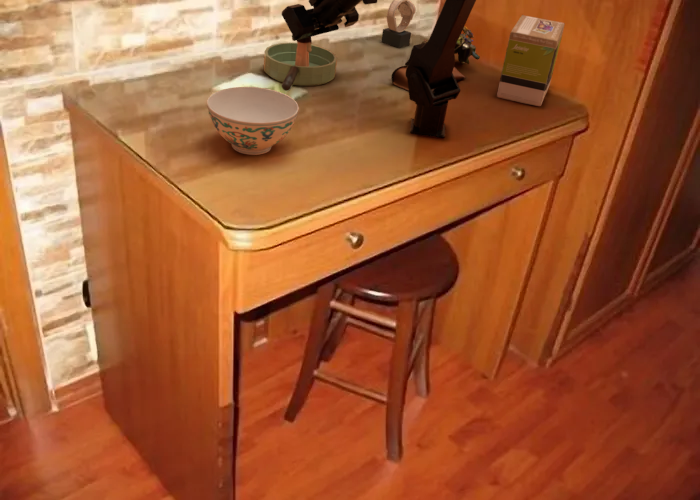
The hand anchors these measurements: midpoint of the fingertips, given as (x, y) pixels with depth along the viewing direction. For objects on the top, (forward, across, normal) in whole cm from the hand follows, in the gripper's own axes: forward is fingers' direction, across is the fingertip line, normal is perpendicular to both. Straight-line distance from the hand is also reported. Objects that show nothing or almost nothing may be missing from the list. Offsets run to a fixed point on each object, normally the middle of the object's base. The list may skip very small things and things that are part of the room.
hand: (298, 37), depth 153 cm
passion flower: (-7, -34, +18) cm, 39 cm away
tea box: (-21, -34, +32) cm, 51 cm away
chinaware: (-8, +33, +20) cm, 39 cm away
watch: (+5, -36, +6) cm, 37 cm away
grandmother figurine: (+4, 0, +6) cm, 7 cm away
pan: (+5, 0, +6) cm, 8 cm away
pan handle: (-2, +11, +9) cm, 14 cm away
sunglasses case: (-9, -21, +20) cm, 31 cm away
